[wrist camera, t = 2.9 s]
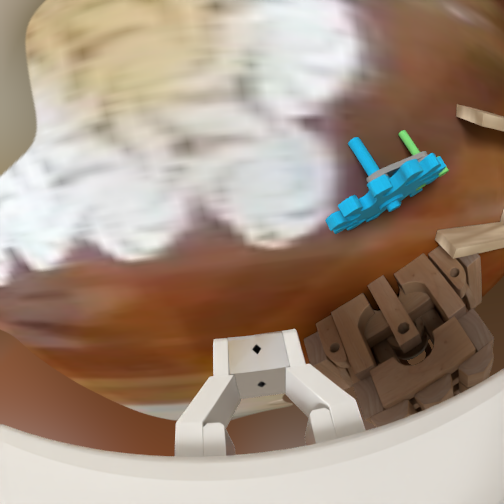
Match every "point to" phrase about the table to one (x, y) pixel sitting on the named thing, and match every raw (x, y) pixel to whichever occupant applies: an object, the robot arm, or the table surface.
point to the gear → (386, 184)
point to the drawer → (475, 236)
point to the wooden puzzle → (408, 339)
